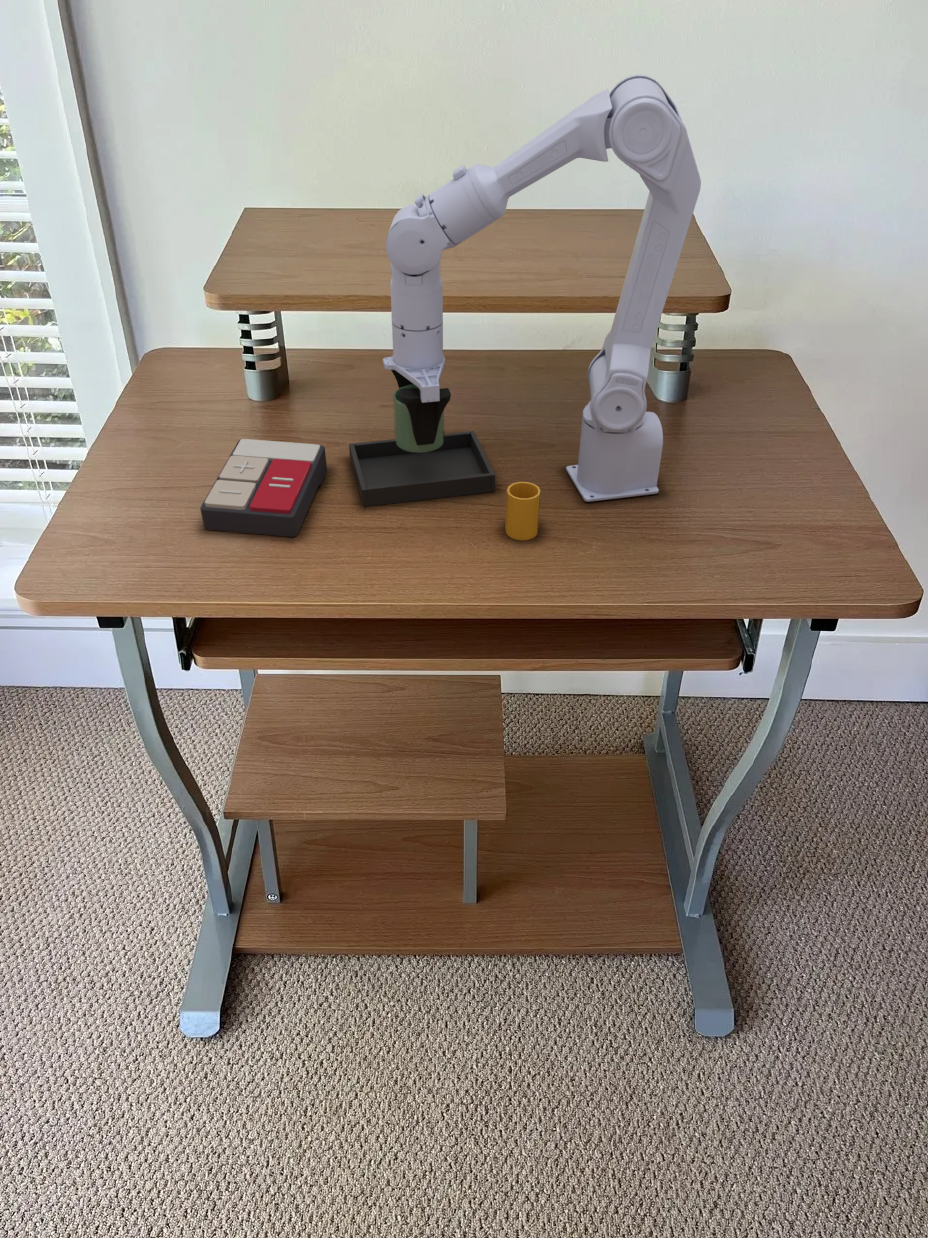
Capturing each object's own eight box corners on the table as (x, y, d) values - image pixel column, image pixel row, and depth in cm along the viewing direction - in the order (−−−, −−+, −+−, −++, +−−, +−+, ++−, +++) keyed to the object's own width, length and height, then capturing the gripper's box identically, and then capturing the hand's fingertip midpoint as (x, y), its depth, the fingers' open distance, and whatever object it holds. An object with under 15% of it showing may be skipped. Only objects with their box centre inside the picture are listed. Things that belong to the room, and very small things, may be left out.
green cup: (438, 426, 122) (438, 381, 119) (448, 449, 118) (448, 404, 114) (391, 431, 121) (389, 386, 118) (399, 455, 117) (398, 409, 113)
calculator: (197, 503, 111) (238, 432, 122) (204, 534, 114) (243, 462, 125) (292, 511, 110) (325, 439, 121) (297, 542, 113) (328, 469, 124)
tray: (473, 446, 129) (474, 430, 127) (494, 491, 120) (495, 474, 119) (350, 460, 126) (348, 443, 124) (362, 507, 117) (361, 489, 116)
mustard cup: (532, 520, 115) (534, 479, 112) (541, 538, 112) (544, 497, 109) (501, 524, 115) (503, 483, 111) (510, 542, 112) (512, 501, 108)
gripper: (371, 299, 115) (377, 405, 124) (393, 351, 104) (397, 463, 113) (431, 294, 116) (432, 400, 125) (458, 345, 105) (457, 457, 114)
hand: (419, 429), depth 119 cm, fingers closed on green cup, 6 cm apart
